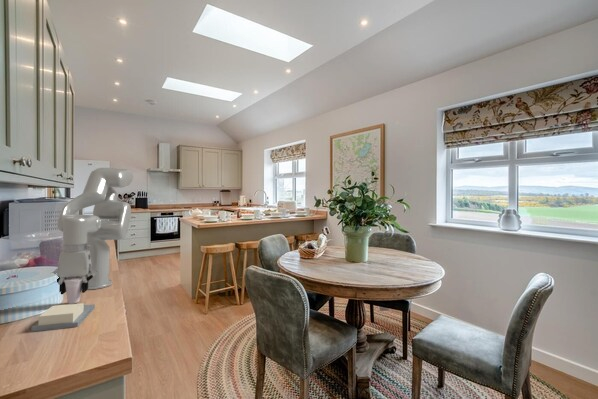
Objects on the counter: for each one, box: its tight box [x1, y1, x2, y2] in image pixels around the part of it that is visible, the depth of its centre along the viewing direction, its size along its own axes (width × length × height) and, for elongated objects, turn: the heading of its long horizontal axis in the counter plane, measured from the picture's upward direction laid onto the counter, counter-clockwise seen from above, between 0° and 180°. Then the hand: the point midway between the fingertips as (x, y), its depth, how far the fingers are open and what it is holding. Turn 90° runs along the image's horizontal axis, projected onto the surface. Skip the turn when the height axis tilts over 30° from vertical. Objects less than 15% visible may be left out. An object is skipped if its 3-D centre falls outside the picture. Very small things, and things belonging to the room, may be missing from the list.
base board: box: [30, 302, 96, 333], centre depth 95 cm, size 16×12×4 cm
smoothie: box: [64, 277, 83, 304], centre depth 108 cm, size 6×6×14 cm
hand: (74, 292), depth 108 cm, fingers closed on smoothie, 6 cm apart
